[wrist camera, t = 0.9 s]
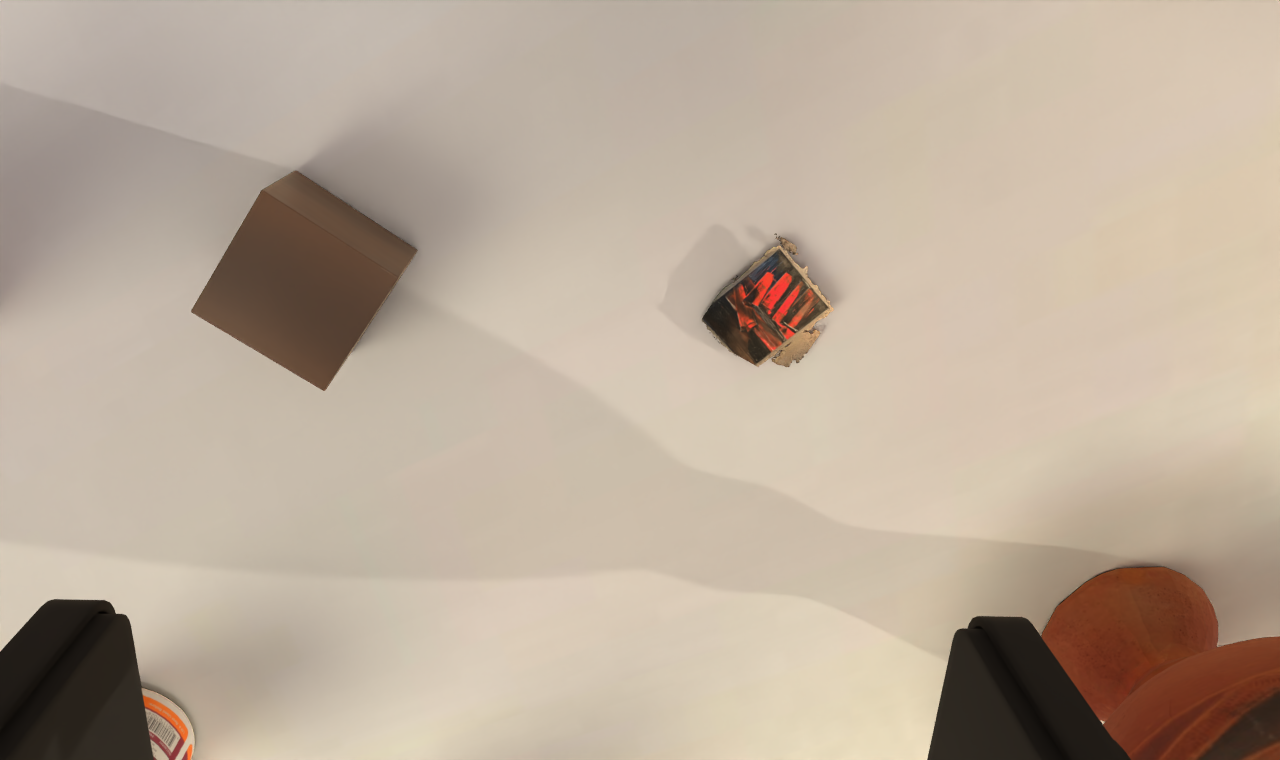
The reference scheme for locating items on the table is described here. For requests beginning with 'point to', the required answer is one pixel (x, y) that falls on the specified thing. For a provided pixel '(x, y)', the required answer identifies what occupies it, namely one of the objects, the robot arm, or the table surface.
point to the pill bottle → (168, 728)
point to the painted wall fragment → (769, 310)
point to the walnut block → (303, 278)
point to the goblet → (1167, 669)
